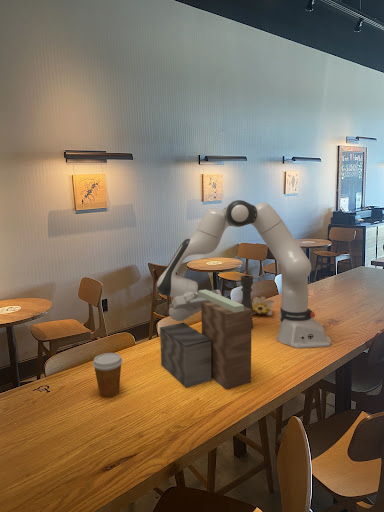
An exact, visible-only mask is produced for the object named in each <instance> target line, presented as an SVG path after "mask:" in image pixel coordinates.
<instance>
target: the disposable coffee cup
mask: <svg viewBox="0 0 384 512" xmlns="http://www.w3.org/2000/svg"><path fill="white" fill-rule="evenodd" d="M122 364H123V358H122V356H121V355H120V354H118V353H116V352H106V353H101V354H99V355H96V356H95V357H94V358H93V362H92V366H93V368H94V372H95V373H94V374H95V377H96V382H97V386H98V387H97V388H98V392H99V396H100V397H103V398H113V397H115V396H117V395H118V394H119V392H120V381H121V372H122V371H121V370H122Z"/></svg>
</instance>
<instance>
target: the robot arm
mask: <svg viewBox="0 0 384 512" xmlns="http://www.w3.org/2000/svg"><path fill="white" fill-rule="evenodd" d="M248 225H252V226H253V228H254V229H255V230H256V231H257V233H258V234H259V236H260V237H261V239H262V240H263V242H264V243H265V245H266V246H267V248H268V249H269V251H270V252H271V254H272V256H273V257H274V258H275V261H276V262H277V263H278V265H279V267H280V269H281V271H280V272H281V306H280V310H279V321H280V324H279V329H278V334H277V336H276V339H277V341H278V342H280V343H281V344H284V345H288V346H291V348H295V349H301V348H302V349H303V348H306V349H307V348H321V347H322V348H323V347H325V348H326V347H330V346H331V344H332V341H331V338H330V337H329V336H328V335H327V334H326V330H325V328H324V325H322V324H321V323H320V322H318V321H317V320H316V319H315V317H316V314H315V312H314V311H313V310H312V309H310V308H309V307H308V306H309V285H308V283H309V282H308V277H309V276H310V275H311V271H312V263H311V261H310V260H309V258H308V257H307V255H306V253H305V252H304V251H303V248H302V247H301V245H299V243H298V241H296V239H295V237H294V236H293V235H292V233H291V231H290V230H289V229H288V227H287V225H286V224H285V222H284V221H283V219H282V218H281V216H280V214H278V212H277V211H276V210H275V209H274V208H273V207H272V206H271V205H270V204H269V203H268V202H259V203H257V204H255V205H253V204H251V203H249V202H247V201H245V200H242V199H241V200H240V199H237V200H233V201H232V202H230V203H228V204H227V206H226V207H225V208H224V209H218V208H210V209H209V208H208V209H207V210H206V211H205V213H204V214H203V216H202V218H201V220H200V222H199V223H198V225H197V228H196V230H195V232H194V234H193V235H192V236H191V237H190V238H186V239H184V240H183V242H182V243H181V244H180V246H179V247H178V249H177V250H176V251H175V253H174V255H173V256H172V258H171V260H170V261H169V263H168V265H166V268H165V269H164V270H163V272H162V274H160V276H159V278H158V279H157V283H156V288H157V290H158V292H159V294H160V295H161V296H164V297H171V298H172V300H171V303H170V304H169V305H168V315H169V317H170V318H171V319H172V320H173V321H176V322H181V321H185V320H187V319H189V318H190V317H191V316H193V315H195V314H198V313H199V312H201V302H206V301H208V300H206V299H204V298H202V297H200V296H198V291H199V290H201V288H200V285H199V283H198V282H197V281H195V280H193V279H190V278H186V277H183V276H181V275H178V274H176V273H177V272H178V270H179V269H180V267H181V265H182V264H183V262H184V261H185V259H186V258H187V257H190V256H193V255H195V256H196V255H209V254H211V253H213V252H215V250H216V249H217V248H218V246H219V244H220V243H221V239H222V237H223V234H224V233H225V230H226V229H227V228H228V227H235V228H240V227H244V226H248ZM210 291H211V292H213V293H216V294H218V295H221V296H223V295H222V292H221V290H220V289H213V290H210Z"/></svg>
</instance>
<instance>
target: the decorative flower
mask: <svg viewBox="0 0 384 512" xmlns="http://www.w3.org/2000/svg"><path fill="white" fill-rule="evenodd" d="M274 304H275V301H274V300H272V299H268V300H267V298H266V297H265V296H261V297H258V296H255V297H253V299H252V306H253V311H252V315H255V314H257V315H266V316H272V315H273V310H272V309H273V306H272V305H274Z"/></svg>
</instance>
